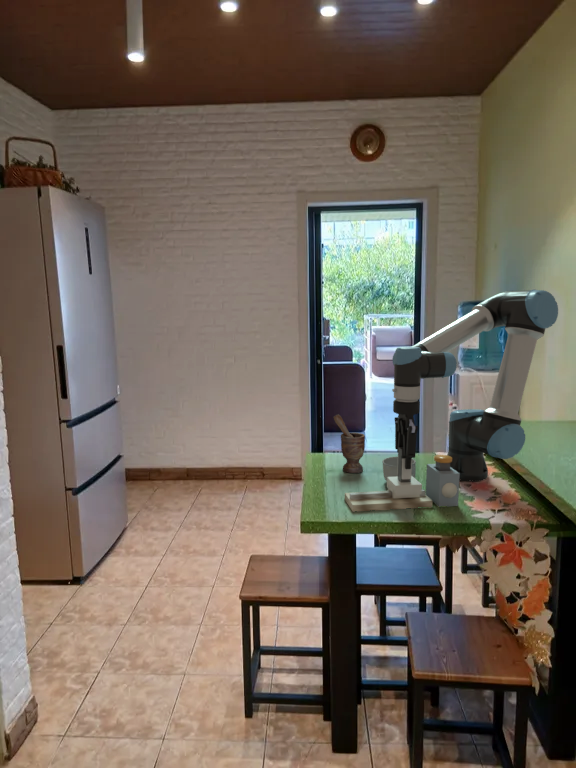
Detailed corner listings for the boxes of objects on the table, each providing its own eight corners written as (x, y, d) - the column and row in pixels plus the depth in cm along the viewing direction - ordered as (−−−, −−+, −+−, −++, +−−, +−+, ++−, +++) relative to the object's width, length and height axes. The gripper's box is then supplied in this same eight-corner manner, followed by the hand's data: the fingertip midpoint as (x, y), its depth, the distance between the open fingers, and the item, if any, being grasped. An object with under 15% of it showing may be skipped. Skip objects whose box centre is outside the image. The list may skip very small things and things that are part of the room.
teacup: (411, 490, 170) (412, 466, 168) (378, 486, 174) (378, 462, 173) (419, 478, 182) (420, 455, 181) (388, 473, 187) (389, 451, 185)
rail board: (419, 495, 166) (419, 484, 165) (432, 507, 156) (432, 495, 155) (344, 499, 163) (344, 488, 162) (352, 511, 153) (352, 500, 152)
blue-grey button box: (444, 493, 167) (445, 463, 165) (458, 506, 156) (460, 473, 155) (425, 494, 166) (426, 464, 164) (439, 507, 156) (440, 474, 154)
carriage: (411, 489, 164) (413, 444, 162) (421, 498, 156) (423, 451, 154) (386, 490, 163) (387, 445, 161) (395, 500, 155) (396, 452, 153)
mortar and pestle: (330, 472, 188) (331, 417, 185) (333, 465, 196) (333, 412, 193) (363, 474, 186) (364, 419, 183) (364, 467, 194) (365, 413, 191)
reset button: (446, 476, 163) (447, 454, 162) (454, 482, 158) (455, 459, 157) (430, 477, 163) (431, 455, 162) (437, 482, 158) (438, 460, 157)
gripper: (385, 395, 163) (383, 469, 166) (403, 405, 147) (401, 486, 150) (409, 394, 164) (406, 468, 167) (429, 404, 148) (426, 485, 151)
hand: (404, 476), depth 159 cm, fingers closed on carriage, 3 cm apart
